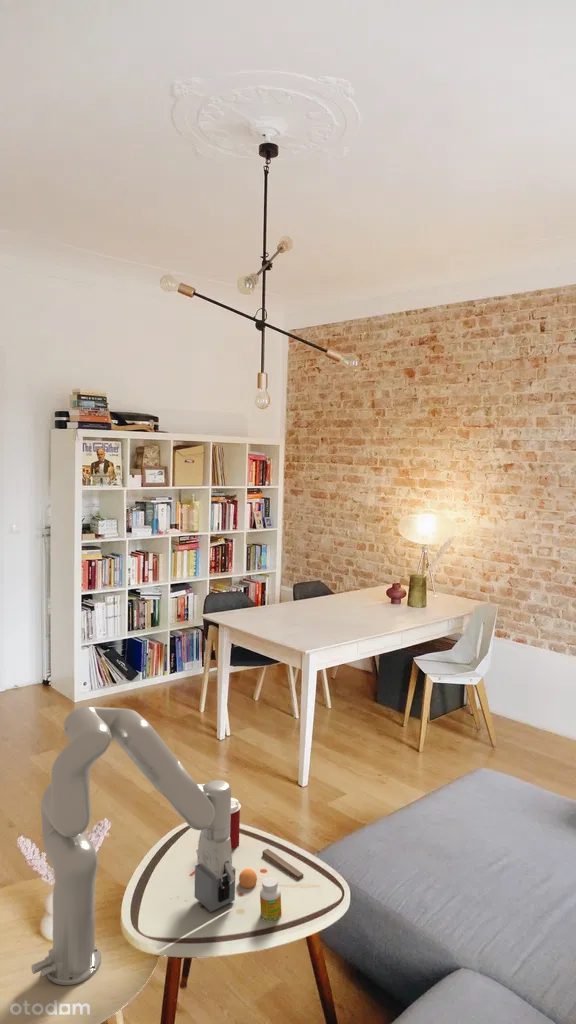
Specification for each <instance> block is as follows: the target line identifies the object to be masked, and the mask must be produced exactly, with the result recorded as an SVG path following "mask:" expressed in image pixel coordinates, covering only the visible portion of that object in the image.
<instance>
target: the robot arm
mask: <svg viewBox="0 0 576 1024" xmlns="http://www.w3.org/2000/svg"><path fill="white" fill-rule="evenodd" d="M63 733H64V735H65V736H66V738H67V740H69V743H68V744H67V745H65V747H64V748H63V749H62V750H61V751H60V753H58V755H57V756H56V758H55V759H54V762H53V764H52V767H51V775H50V777H51V778H50V780H51V781H50V784H49V785H48V786H47V787H46V788H45V790H44V792H43V794H42V798H41V800H40V801H41V802H40V814H41V816H40V817H41V830H42V831H41V832H42V842H43V843H42V844H43V848H44V851H45V853H46V856H47V857H48V860H49V862H50V864H51V866H52V868H53V873H54V883H53V884H54V885H53V890H52V948H50V949H49V950H48V955H47V956H45V957H44V959H43V960H41V961H37V962H36V963H33V964H32V965H31V966H30V967H31V971H32V972H31V973H32V974H33V975H35V974H37V973H39V972H40V973H41V976H42V977H45V976H46V977H47V978H48V979H49V981H51V982H52V983H54V984H57V985H59V986H72V985H77V984H79V983H83V982H84V981H86V980H87V981H88V980H89V979H90V978H92V976H94V975H95V974H96V973H97V971H98V970H99V968H100V966H101V963H102V954H101V952H100V949H99V948H98V947H97V946H95V939H96V938H95V936H96V935H95V932H96V930H95V927H96V926H95V925H96V924H95V923H96V920H95V919H96V918H95V917H96V915H95V914H96V897H95V896H96V895H95V894H96V891H95V890H96V877H97V872H98V867H99V860H98V855H97V851H96V848H95V846H94V844H93V843H92V841H91V839H90V838H89V836H88V835H87V833H86V830H87V829H88V828H89V824H90V823H91V819H92V804H91V791H90V790H91V789H90V786H91V785H90V773H91V769H92V768H93V766H94V765H95V763H96V762H97V761H98V760H100V758H101V757H102V756H103V755H104V754H106V752H107V751H108V749H109V747H110V745H111V742H112V741H115V742H116V743H117V744H118V745H119V747H120V748H121V749H122V750H123V751H124V752H125V754H126V755H127V756H128V757H129V759H130V760H131V762H133V764H134V765H135V766H136V767H137V769H138V770H139V771H140V772H141V773H142V775H143V776H144V777H145V778H146V779H147V781H148V782H149V783H150V784H151V785H152V786H153V788H154V789H155V790H156V791H158V792H159V793H160V794H161V795H162V796H163V797H164V798H165V799H166V800H167V801H168V803H170V804H171V806H172V808H173V810H174V811H175V813H177V814H178V816H179V817H180V818H181V819H182V820H184V822H185V823H186V824H187V825H188V826H189V827H190V828H191V829H192V830H195V831H200V833H199V837H198V843H197V845H198V846H197V849H196V851H195V852H196V854H197V858H196V859H197V861H196V862H197V865H198V864H199V865H200V866H201V867H202V868H203V869H205V870H206V871H207V872H208V873H209V874H211V875H212V876H213V877H214V878H215V879H217V880H218V879H219V884H220V887H219V897H218V901H219V902H220V903H221V902H223V901H225V900H227V899H229V894H230V885H231V884H232V883H233V882H234V880H235V881H236V874H235V875H234V873H233V871H232V866H233V855H232V854H233V852H232V850H233V849H231V841H230V837H229V836H230V819H231V798H232V787H231V785H230V784H229V782H227V781H225V780H222V779H215V780H210V781H208V782H206V783H197V782H196V781H195V780H194V779H193V777H192V776H191V775H190V773H189V772H188V771H187V770H186V768H185V767H184V765H183V764H182V762H181V761H180V760H179V759H178V758H177V757H176V755H175V754H174V753H173V752H172V750H171V749H170V748H169V747H168V745H167V744H166V743H165V741H164V740H163V739H162V737H161V736H160V735H159V733H158V732H157V731H156V730H155V728H154V727H153V726H152V724H150V723H149V721H147V720H146V719H145V718H144V717H143V716H142V715H140V714H139V712H137V711H135V710H134V709H131V708H123V707H103V706H101V707H100V706H81V707H76V708H75V709H73V710H72V711H70V712H69V713H68V715H67V716H66V717H65V719H64V722H63ZM224 871H225V872H226V873H225V874H223V872H224ZM224 876H226V881H225V882H224V883H223V879H222V877H224Z"/></svg>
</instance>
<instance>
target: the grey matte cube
mask: <svg viewBox="0 0 576 1024" xmlns="http://www.w3.org/2000/svg"><path fill="white" fill-rule="evenodd" d="M194 869H195V870H194V898H195V899H196V900H197V901H198V902H199V903H201V904H202V906H204V908H206V910H208V911H209V912H210V913H212V912H214V911H215V910H218V909H219V908H221V907H224V906H226V905H228V904H230V903H232V902H233V901H235V898H236V897H235V896H236V894H235V893H236V879H235V880H234V882H233V883H232V884H231V885H230V894H229V899H227V900H225V901H223V902H221V903H220V902H219V901H218V897H219V887H220V884H219V879H218V880H217V879H215V878H214V877H213V876H212V875H211V874H209V873H208V872H207V871H206V870H205V869H203V868H202V867H201V866H200V865H199V864H198V863H197V864H196V865H195V866H194ZM232 871H233V873H234V875H235V876H236V868H235V867H234V866H233V865H232ZM225 873H226V872H225V871H224V872H223V874H225ZM222 879H223V883H224V882H225V881H226V876H224V877H222Z"/></svg>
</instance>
